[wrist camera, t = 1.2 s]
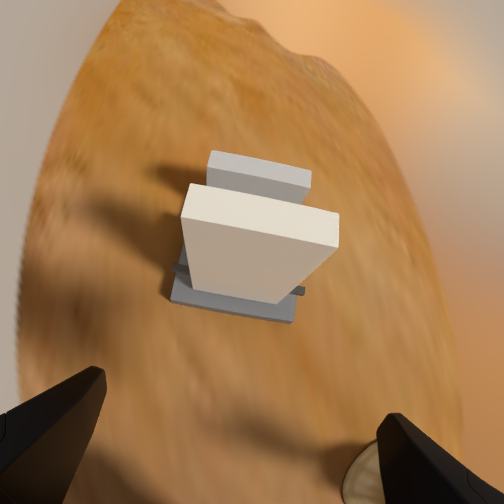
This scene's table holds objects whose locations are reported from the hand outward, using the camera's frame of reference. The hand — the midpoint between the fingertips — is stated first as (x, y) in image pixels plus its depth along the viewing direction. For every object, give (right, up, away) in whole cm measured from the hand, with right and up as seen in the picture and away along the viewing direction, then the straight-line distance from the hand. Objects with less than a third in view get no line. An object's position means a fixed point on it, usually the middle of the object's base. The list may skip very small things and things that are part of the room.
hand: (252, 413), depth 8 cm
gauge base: (-1, +4, +16) cm, 17 cm away
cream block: (-1, +2, +14) cm, 14 cm away
